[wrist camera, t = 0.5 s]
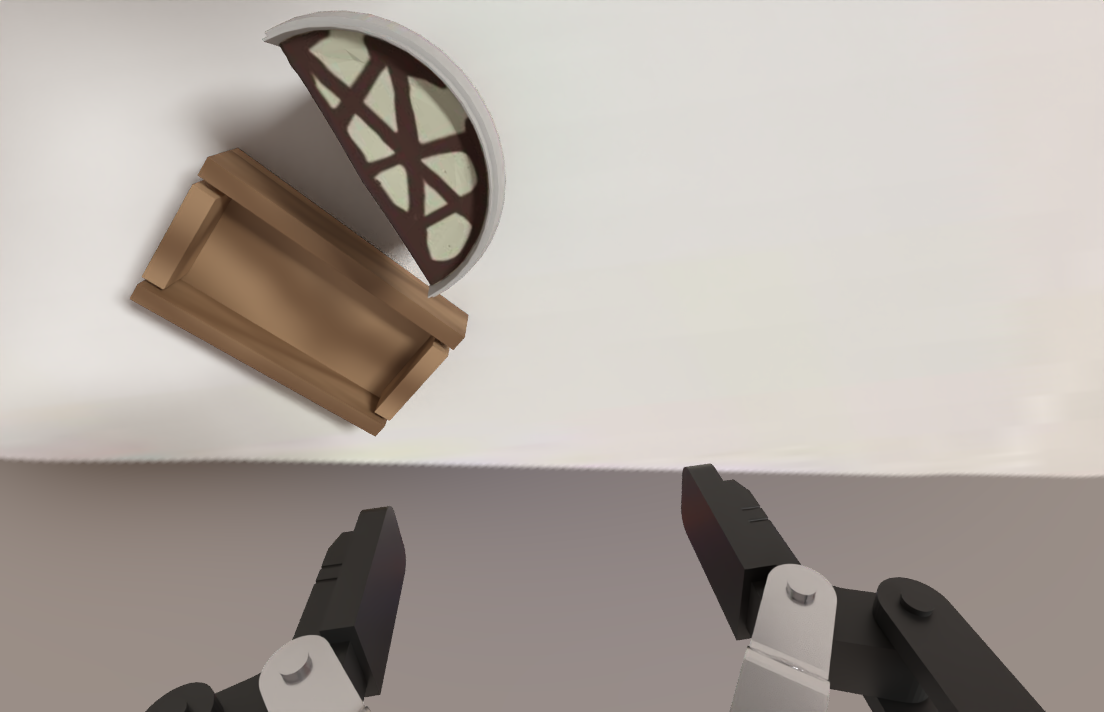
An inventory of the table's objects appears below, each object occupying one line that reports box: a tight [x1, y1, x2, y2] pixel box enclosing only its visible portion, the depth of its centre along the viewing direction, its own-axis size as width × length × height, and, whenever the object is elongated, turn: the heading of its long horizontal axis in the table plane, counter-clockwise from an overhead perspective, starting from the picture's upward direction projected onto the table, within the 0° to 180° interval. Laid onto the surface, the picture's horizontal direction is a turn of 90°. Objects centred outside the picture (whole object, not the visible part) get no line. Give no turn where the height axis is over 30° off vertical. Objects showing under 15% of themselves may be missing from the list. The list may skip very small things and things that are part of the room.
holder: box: [130, 148, 468, 436], centre depth 32 cm, size 10×16×3 cm, turn 48°
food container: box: [262, 11, 506, 298], centre depth 24 cm, size 12×6×10 cm, turn 24°
